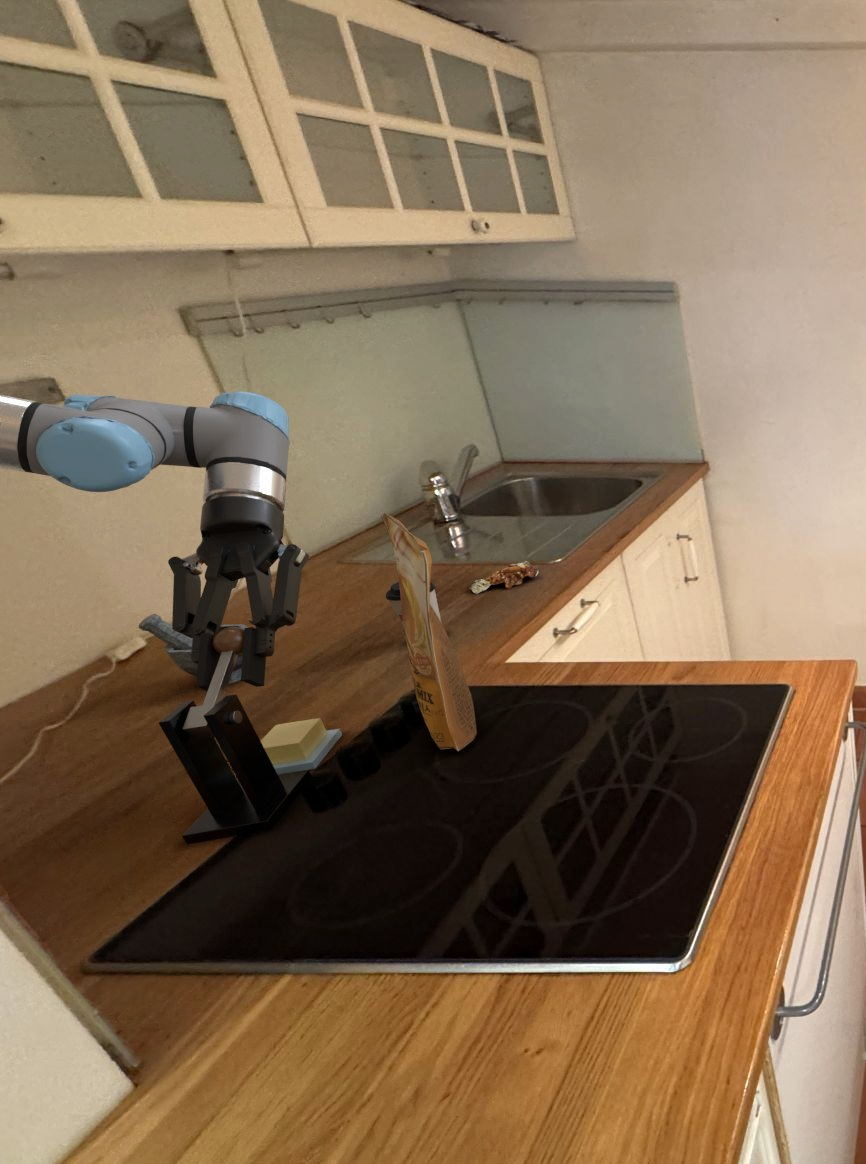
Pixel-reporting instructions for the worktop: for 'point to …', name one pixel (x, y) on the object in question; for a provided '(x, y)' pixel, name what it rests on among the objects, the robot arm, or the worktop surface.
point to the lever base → (231, 773)
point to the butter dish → (299, 745)
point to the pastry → (506, 576)
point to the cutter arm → (216, 680)
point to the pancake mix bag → (430, 646)
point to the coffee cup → (395, 600)
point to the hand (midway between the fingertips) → (230, 685)
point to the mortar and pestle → (183, 645)
